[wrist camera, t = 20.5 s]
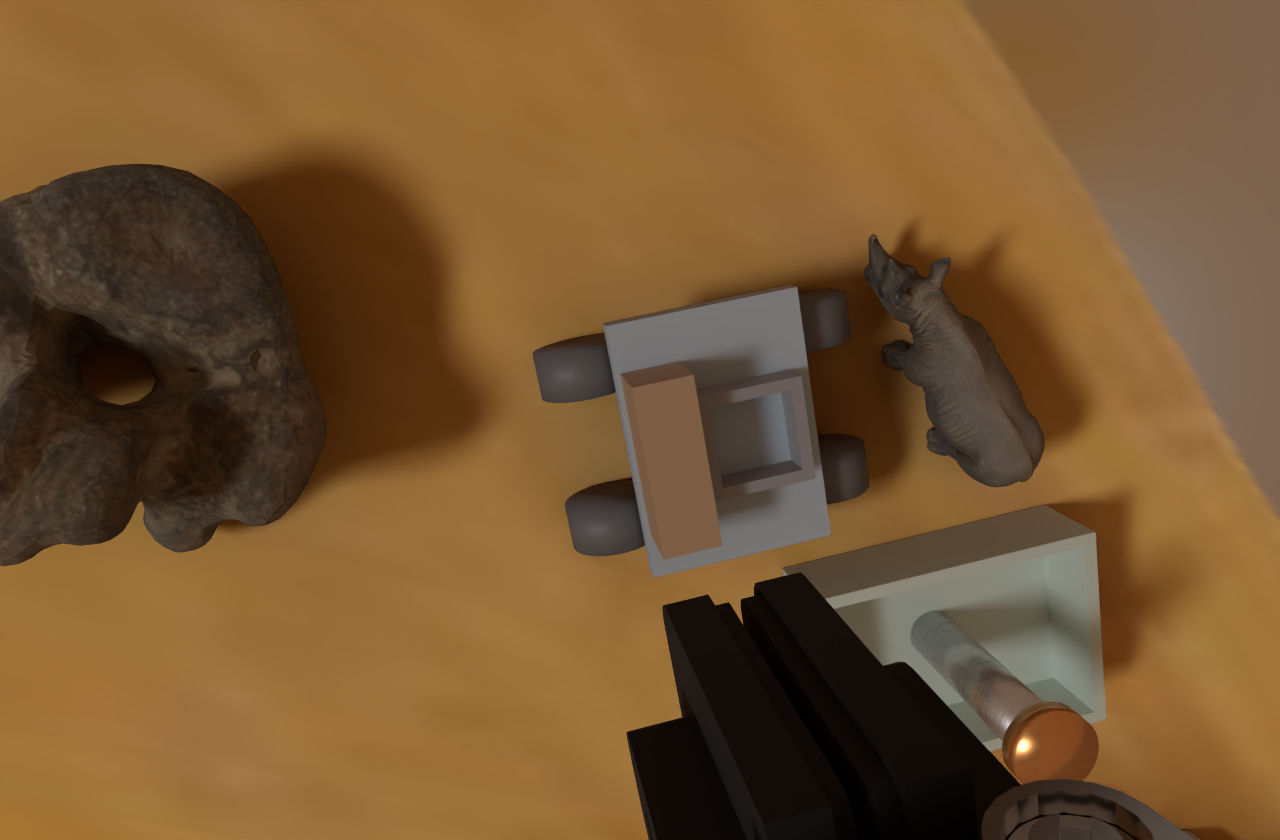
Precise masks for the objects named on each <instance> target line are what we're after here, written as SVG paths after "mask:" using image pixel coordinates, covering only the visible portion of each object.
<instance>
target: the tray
mask: <svg viewBox="0 0 1280 840" xmlns="http://www.w3.org/2000/svg"><path fill="white" fill-rule="evenodd" d="M782 570H783V576H787V575H791V574H795V573H799V572H801V573H802V574H804V575H805V576H806V577H807V579H808V580H809V581H810V582H811V583H812V584H813V586H814V587H815V588H816V589H817V590H818V591H819V592H820V594H821V595H822V596H823V597H824V598H825V599H826V601H827V602H828V603H829V604H830V605H831V606H832V607H833V609H834V610H835V611H836V612H837V613H838V614H839V616H840V617H841V618H842V619H843V620H844V621H845V622H846V624H847V625H848V626H849V627H850V628H851V629H852V631H853V632H854V633H855V634H856V635H857V636H858V637H859V639H860V640H861V641H862V642H863V643H864V644H865V646H866V647H867V648H868V649H869V650H870V651H871V652H872V654H873V655H874V656H875V657H876V658H877V659H878V661H879V662H880V663H881V664H882V665H883V666H884V665H888V664H891V663H895V662H906V663H907V664H908V665H909V666H911V667H912V668H913V669H914V670H915V671H916V672H917V673H918V674H919V675H920V677H921V678H922V679H923V680H924V681H925V682H926V683H927V684H928V685H929V686H930V687H931V688H932V690H933V691H934V692H935V693H936V694H937V695H938V696H939V697H940V698H941V699H942V700H943V701H944V702H945V704H946V705H947V706H948V707H949V708H950V709H951V710H952V711H953V712H954V713H955V714H956V715H957V717H958V718H959V719H960V720H961V721H962V722H963V723H964V724H965V725H966V726H967V727H968V728H969V729H970V731H971V732H972V733H973V734H974V735H975V736H976V737H977V738H978V739H979V740H980V741H981V742H982V744H983V745H984V746H985V747H986V748H987V749H988V750H989V751H993V750H997V749H1001V748H1002V742H1003V741H1002V740H1001V739H1000V738H999V737H998V736H997V735H996V734H995V733H994V732H993V731H992V729H991V728H990V727H989V726H988V725H987V724H986V723H985V722H984V721H983V720H982V719H981V718H980V717H979V716H978V715H977V714H976V713H975V711H974V710H973V709H972V708H971V707H970V706H969V705H968V704H967V703H966V702H965V701H964V700H963V699H962V698H961V697H960V696H959V695H958V693H957V692H956V691H955V690H954V689H953V688H952V687H951V686H950V685H949V684H948V683H947V682H946V681H945V680H944V679H943V678H942V676H941V675H940V674H939V673H938V672H937V671H936V670H935V669H934V668H933V667H932V666H931V665H930V664H929V663H928V662H927V661H926V660H925V658H924V657H923V656H922V655H921V654H920V653H919V652H918V651H917V650H916V649H915V648H914V647H913V645H912V643H911V639H910V632H911V628H912V626H913V624H914V622H915V621H916V620H917V619H918V618H919V617H920V616H921V615H923V614H925V613H927V612H931V611H940V612H943V613H945V614H947V615H948V616H949V617H950V618H951V619H953V620H954V621H955V622H956V623H957V624H958V625H959V626H960V627H961V628H962V629H964V630H965V631H966V632H967V633H968V634H969V635H970V636H971V637H972V638H973V639H975V640H976V641H977V642H978V643H979V644H980V645H981V646H982V647H983V648H984V649H986V650H987V651H988V652H989V653H990V654H991V655H992V656H993V657H994V658H995V659H997V660H998V661H999V662H1000V663H1001V664H1002V665H1003V666H1004V667H1005V668H1006V669H1008V670H1009V671H1010V672H1011V673H1012V674H1013V675H1014V676H1015V677H1016V678H1017V679H1019V680H1020V681H1021V682H1022V683H1023V684H1024V685H1025V686H1026V687H1027V688H1028V689H1030V690H1031V691H1032V692H1033V693H1034V694H1035V695H1036V696H1037V697H1038V698H1039V699H1041V700H1042V701H1043V702H1049V701H1052V702H1060V703H1063V704H1066V705H1068V706H1069V707H1071V708H1072V709H1073V710H1075V711H1076V712H1077V713H1078V714H1079V715H1080V716H1081V717H1083V718H1084V719H1085V720H1086V721H1087V722H1088V723H1089V724H1092V723H1095V722H1099V721H1103V720H1106V705H1105V688H1104V670H1103V653H1102V636H1101V618H1100V601H1099V583H1098V566H1097V549H1096V532H1095V531H1093V530H1091V529H1089V528H1087V527H1085V526H1084V525H1082V524H1080V523H1078V522H1076V521H1074V520H1072V519H1071V518H1069V517H1067V516H1065V515H1063V514H1061V513H1059V512H1058V511H1056V510H1054V509H1052V508H1050V507H1048V506H1046V505H1042V506H1038V507H1033V508H1029V509H1025V510H1021V511H1017V512H1013V513H1009V514H1005V515H1000V516H996V517H992V518H988V519H984V520H980V521H976V522H972V523H967V524H963V525H959V526H955V527H951V528H947V529H943V530H939V531H934V532H930V533H926V534H922V535H918V536H914V537H910V538H906V539H901V540H897V541H893V542H889V543H885V544H881V545H877V546H873V547H868V548H864V549H860V550H856V551H852V552H848V553H844V554H840V555H835V556H831V557H827V558H823V559H819V560H815V561H811V562H807V563H802V564H798V565H794V566H790V567H786V568H782Z"/></svg>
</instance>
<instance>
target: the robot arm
mask: <svg viewBox="0 0 1280 840" xmlns="http://www.w3.org/2000/svg"><path fill="white" fill-rule="evenodd" d="M662 610H663V618H664V624H665V629H666V635H667V640H668V645H669V650H670V656H671V661H672V666H673V671H674V676H675V682H676V687H677V692H678V697H679V703H680V708H681V713H682V718H679V719H675V720H671V721H667V722H663V723H660V724H656V725H652V726H648V727H644V728H640V729H636V730H632V731H629V732H627V739H628V744H629V750H630V754H631V759H632V764H633V769H634V774H635V778H636V783H637V788H638V793H639V797H640V802H641V807H642V811H643V816H644V820H645V824H646V829H647V833H648V837H649V840H1195V839H1193V838H1192V837H1191V836H1189V835H1188V834H1186V833H1185V832H1184V831H1182V830H1181V829H1179V828H1178V827H1177V826H1175V825H1174V824H1172V823H1171V822H1169V821H1168V820H1167V819H1165V818H1164V817H1162V816H1161V815H1160V814H1158V813H1157V812H1155V811H1154V810H1153V809H1151V808H1150V807H1148V806H1147V805H1145V804H1143V803H1141V802H1140V801H1138V800H1136V799H1134V798H1132V797H1131V796H1129V795H1127V794H1125V793H1123V792H1121V791H1118V790H1115V789H1112V788H1109V787H1106V786H1103V785H1100V784H1097V783H1092V782H1085V781H1077V780H1070V779H1055V780H1038V781H1034V782H1031V783H1027V784H1023V785H1020V783H1019V782H1018V781H1017V780H1016V779H1015V778H1014V777H1013V776H1012V775H1011V774H1010V773H1009V772H1008V771H1007V769H1006V768H1005V767H1004V766H1003V765H1002V764H1001V763H1000V762H999V761H998V760H997V759H996V758H995V756H994V755H993V754H992V753H991V752H990V751H989V750H988V749H987V748H986V747H985V746H984V745H983V744H982V742H981V741H980V740H979V739H978V738H977V737H976V736H975V735H974V734H973V733H972V732H971V731H970V729H969V728H968V727H967V726H966V725H965V724H964V723H963V722H962V721H961V720H960V719H959V718H958V717H957V715H956V714H955V713H954V712H953V711H952V710H951V709H950V708H949V707H948V706H947V705H946V704H945V702H944V701H943V700H942V699H941V698H940V697H939V696H938V695H937V694H936V693H935V692H934V691H933V690H932V688H931V687H930V686H929V685H928V684H927V683H926V682H925V681H924V680H923V679H922V678H921V677H920V675H919V674H918V673H917V672H916V671H915V670H914V669H913V668H912V667H911V666H909V665H908V664H907V663H906V662H895V663H891V664H888V665H884V666H883V665H882V664H881V663H880V662H879V661H878V659H877V658H876V657H875V656H874V655H873V654H872V652H871V651H870V650H869V649H868V648H867V647H866V646H865V644H864V643H863V642H862V641H861V640H860V639H859V637H858V636H857V635H856V634H855V633H854V632H853V631H852V629H851V628H850V627H849V626H848V625H847V624H846V622H845V621H844V620H843V619H842V618H841V617H840V616H839V614H838V613H837V612H836V611H835V610H834V609H833V607H832V606H831V605H830V604H829V603H828V602H827V601H826V599H825V598H824V597H823V596H822V595H821V594H820V592H819V591H818V590H817V589H816V588H815V587H814V586H813V584H812V583H811V582H810V581H809V580H808V579H807V577H806V576H805V575H804V574H802V573H801V572H799V573H795V574H791V575H787V576H782V577H778V578H774V579H770V580H766V581H762V582H758V583H755V586H754V596H752V597H748V598H744V599H741V612H742V619H743V624H742V622H741V621H740V619H739V617H738V616H737V614H736V613H735V611H734V609H733V608H732V606H731V605H730V603H729V602H728V603H724V604H720V605H716V606H715V605H714V603H713V601H712V600H711V598H710V597H709V595H704V596H700V597H696V598H692V599H688V600H684V601H680V602H676V603H672V604H667V605H663V609H662ZM743 625H744V626H743Z"/></svg>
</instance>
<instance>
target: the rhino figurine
mask: <svg viewBox="0 0 1280 840" xmlns="http://www.w3.org/2000/svg"><path fill="white" fill-rule="evenodd" d="M868 244H869V264H868V266H867V267H866V268H865V269H864V272H863V273H864V275H865V278H866V281H867V282H868V283H869V285H870V286H871V287H872V289H873V290H874V291H875V293H876V294H877V295H878V298H879V300H880V302H881V303H882V305H883V307H884V308H885V309H886V311H887V312H888V313H889V314H890V315H891V316H892V317H893V318H894V319H896V320H898V321H900V322H904V323H907V324H908V325H909V326H910V332H911V333H912V334H913V341H914V344H913V345H912V346H911V347H910V348H909V347H908V345H907V344H906V343H904V342H903V341H901V340H896V341H894V342H893V343H892V344H889V345H885V346H884V347H883V349H882V357H883V358H882V360H883V363H884V364H885V365H886V366H889V367H891V368H893V369H895V370H902V369H903V370H904V373H905V375H906V377H907V378H908V379H909V380H910V381H911V382H912V383H914V384H916V385H918V386H921V387H923V390H924V392H925V401H926V409H927V414H928V417H929V418H930V420H931V422H932V424H933V425H934V427H935V428H931V429H929V430H928V432H927V434H926V437H927V440H928V443H927V448H928V449H929V450H930V451H932V452H934V453H937V454H939V455H943V456H945V455H949V456H951V457H952V458H954V459H955V460H957V462H958V464H959V466H960V467H961V468H962V469H963V470H964V471H965V472H966V473H967V474H968V475H969V476H970V477H972V478H973V479H975V480H976V481H978V482H980V483H982V484H984V485H987V486H991V487H1002V486H1008V485H1012V484H1014V483H1016V482H1018V481H1021V482H1025V481H1027V480H1028V479H1030V477H1031V476H1032V474H1033V472H1034V470H1035V468H1036V467H1037V465H1038V463H1039V462H1040V459H1041V457H1042V454H1043V451H1044V435H1043V431H1042V429H1041V428H1040V426H1039V424H1038V421H1037V419H1036V418H1035V417H1034V416H1033V415H1031V414H1030V413H1029V411H1028V410H1027V408H1026V406H1025V403H1024V401H1023V398H1022V395H1021V393H1020V390H1019V388H1018V386H1017V384H1016V382H1015V380H1014V378H1013V376H1012V375H1011V373H1010V372H1009V370H1008V369H1007V368H1006V366H1005V365H1004V363H1003V362H1002V360H1001V358H1000V356H999V354H998V352H997V350H996V348H995V346H994V344H993V342H992V340H991V338H990V337H989V335H988V334H987V332H986V330H985V328H984V327H983V326H982V325H981V324H980V323H979V322H978V321H976V320H973V319H972V318H970V317H968V316H965V315H962V314H961V313H960V312H958V310H957V309H956V307H955V306H954V304H953V303H952V302H951V301H950V299H949V297H948V296H947V295H946V294H945V293H944V292H943V290H942V283H943V279H944V277H945V276H946V274H947V272H948V270H949V266H950V260H951V259H950V258H949V257H948V258H944V259H940V260H937V261H935V262H934V263H932V265H931V268H930V275H929V277H927V278H924V277H922V276H920V275H919V274H918V273H917V271H916V269H915V268H914V267H913V266H911V265H905V264H901V263H899V262H898V261H896V260H895V259H894V258H892V257H891V256H889V255H888V254H887V252H886V251H885V250H884V249H883V248H882V246H881V244H880V243H879V241H878V239H877V236H876V235H874V234H873V235H871V236H870V238H869V241H868Z"/></svg>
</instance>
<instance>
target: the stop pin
mask: <svg viewBox="0 0 1280 840" xmlns="http://www.w3.org/2000/svg"><path fill="white" fill-rule="evenodd" d="M910 639H911V643H912V645H913V647H914V648H915V649H916V650H917V651H918V652H919V653H920V654H921V655H922V656H923V657H924V658H925V660H926V661H927V662H928V663H929V664H930V665H931V666H932V667H933V668H934V669H935V670H936V671H937V672H938V673H939V674H940V675H941V676H942V678H943V679H944V680H945V681H946V682H947V683H948V684H949V685H950V686H951V687H952V688H953V689H954V690H955V691H956V692H957V693H958V695H959V696H960V697H961V698H962V699H963V700H964V701H965V702H966V703H967V704H968V705H969V706H970V707H971V708H972V709H973V710H974V711H975V713H976V714H977V715H978V716H979V717H980V718H981V719H982V720H983V721H984V722H985V723H986V724H987V725H988V726H989V727H990V728H991V729H992V731H993V732H994V733H995V734H996V735H997V736H998V737H999V738H1000V739H1001V740H1002V741H1003V742H1002V755H1003V759H1004V762H1005V764H1006V766H1007V767H1008V769H1009V770H1010V771H1011V772H1012V773H1013V774H1014V775H1015V776H1016V778H1017V779H1018V780H1019V781H1020V782H1021V783H1022V784H1027V783H1031V782H1034V781H1038V780H1055V779H1070V780H1077V781H1083V780H1084V779H1085V778H1086V777H1087V775H1088V774H1089V773H1090V771H1091V770H1092V768H1093V766H1094V764H1095V762H1096V759H1097V756H1098V749H1099V743H1098V738H1097V735H1096V732H1095V730H1094V729H1093V727H1092V726H1091V725H1090V724H1089V723H1088V722H1087V721H1086V720H1085V719H1084V718H1083V717H1081V716H1080V715H1079V714H1078V713H1077V712H1076V711H1075V710H1073V709H1072V708H1071V707H1069V706H1068V705H1066V704H1063V703H1060V702H1052V701H1049V702H1043V701H1042V700H1041V699H1039V698H1038V697H1037V696H1036V695H1035V694H1034V693H1033V692H1032V691H1031V690H1030V689H1028V688H1027V687H1026V686H1025V685H1024V684H1023V683H1022V682H1021V681H1020V680H1019V679H1017V678H1016V677H1015V676H1014V675H1013V674H1012V673H1011V672H1010V671H1009V670H1008V669H1006V668H1005V667H1004V666H1003V665H1002V664H1001V663H1000V662H999V661H998V660H997V659H995V658H994V657H993V656H992V655H991V654H990V653H989V652H988V651H987V650H986V649H984V648H983V647H982V646H981V645H980V644H979V643H978V642H977V641H976V640H975V639H973V638H972V637H971V636H970V635H969V634H968V633H967V632H966V631H965V630H964V629H962V628H961V627H960V626H959V625H958V624H957V623H956V622H955V621H954V620H953V619H951V618H950V617H949V616H948V615H947V614H945V613H943V612H940V611H931V612H927V613H925V614H923V615H921V616H920V617H919V618H918V619H917V620H916V621H915V622H914V624H913V626H912V628H911V632H910Z"/></svg>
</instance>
